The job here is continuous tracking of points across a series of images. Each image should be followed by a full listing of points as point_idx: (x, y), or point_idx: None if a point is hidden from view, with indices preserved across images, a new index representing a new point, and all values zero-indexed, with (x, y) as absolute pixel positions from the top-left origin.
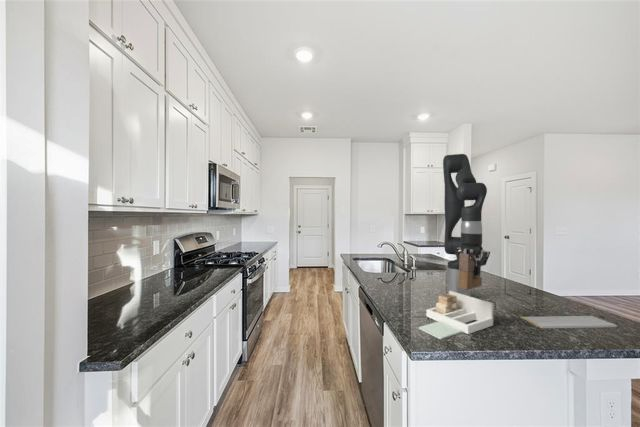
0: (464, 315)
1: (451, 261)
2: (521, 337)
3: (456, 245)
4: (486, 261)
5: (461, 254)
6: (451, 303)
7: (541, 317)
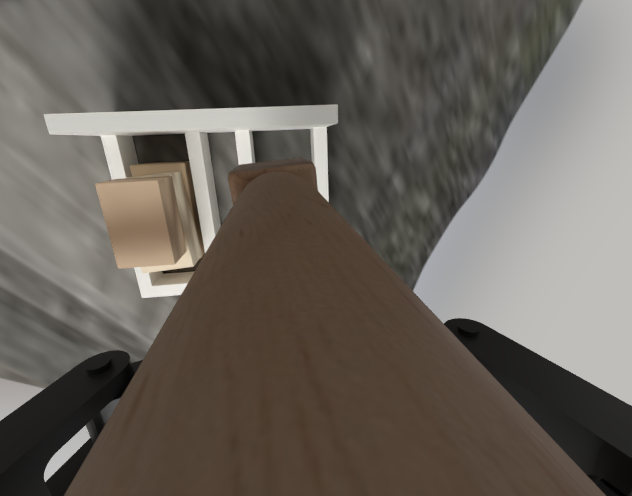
0: None
1: None
2: (427, 127)
3: None
4: (538, 367)
5: None
6: (178, 218)
7: None
